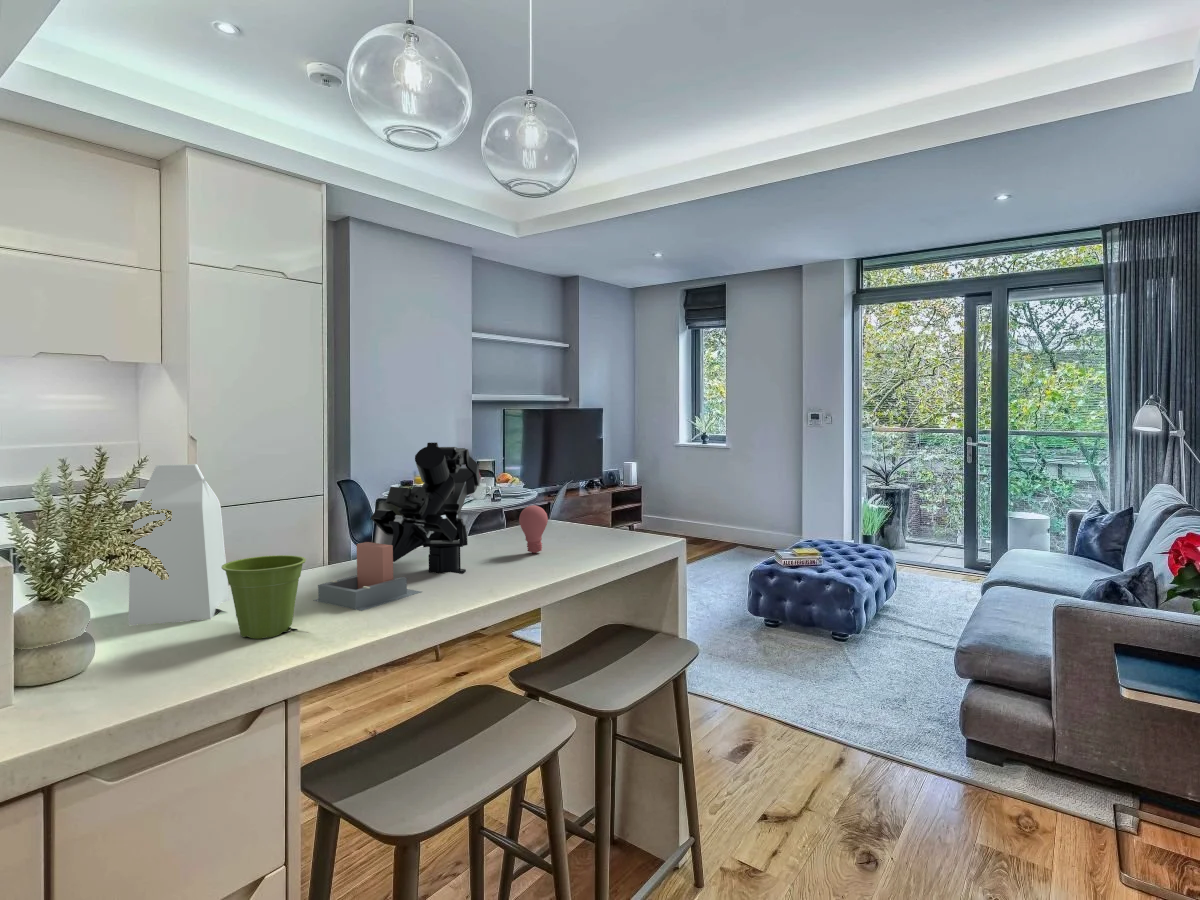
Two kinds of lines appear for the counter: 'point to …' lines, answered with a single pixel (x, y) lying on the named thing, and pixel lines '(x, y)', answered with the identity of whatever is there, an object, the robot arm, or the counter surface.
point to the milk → (180, 550)
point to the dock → (362, 593)
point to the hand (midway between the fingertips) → (391, 560)
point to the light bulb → (533, 526)
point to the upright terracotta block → (374, 563)
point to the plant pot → (264, 593)
